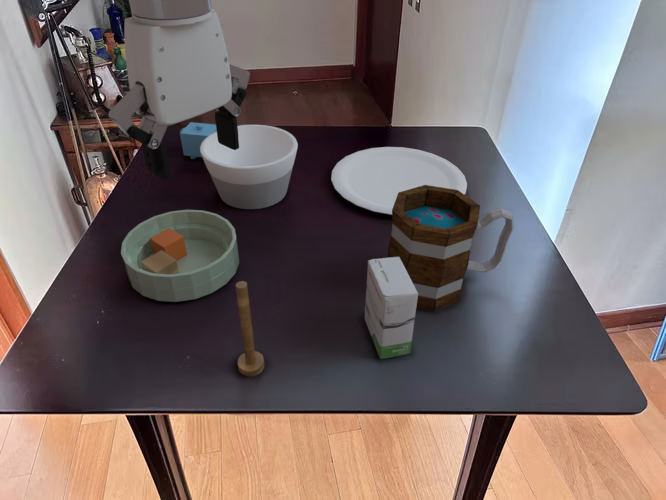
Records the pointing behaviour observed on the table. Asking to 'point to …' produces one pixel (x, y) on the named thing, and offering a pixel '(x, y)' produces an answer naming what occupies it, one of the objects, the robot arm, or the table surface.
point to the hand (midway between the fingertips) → (196, 160)
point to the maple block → (160, 264)
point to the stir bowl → (195, 268)
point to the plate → (391, 176)
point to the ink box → (390, 306)
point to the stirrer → (247, 335)
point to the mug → (440, 241)
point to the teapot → (195, 137)
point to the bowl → (251, 166)
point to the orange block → (169, 244)
